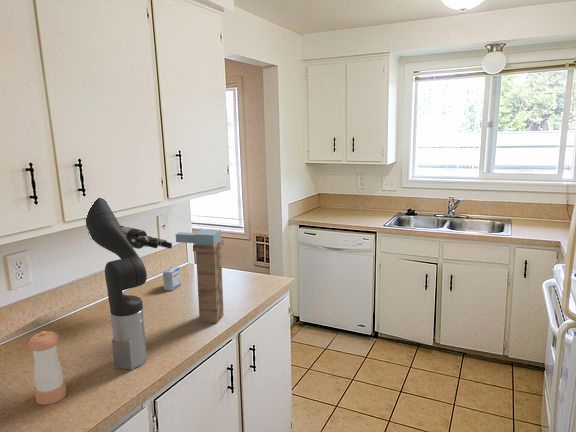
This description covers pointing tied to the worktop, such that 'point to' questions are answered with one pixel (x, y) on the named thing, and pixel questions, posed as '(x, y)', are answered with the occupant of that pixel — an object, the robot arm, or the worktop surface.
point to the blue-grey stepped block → (200, 237)
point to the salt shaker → (47, 368)
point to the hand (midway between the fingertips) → (164, 245)
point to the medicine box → (171, 278)
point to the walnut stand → (209, 282)
